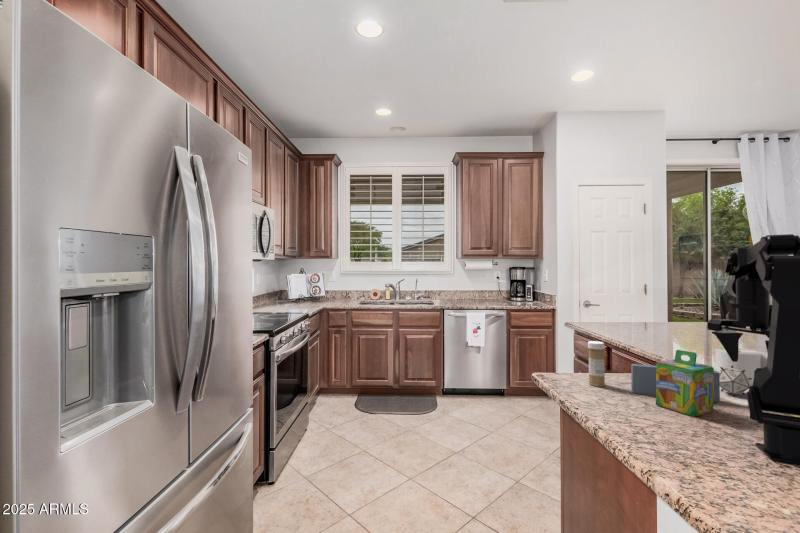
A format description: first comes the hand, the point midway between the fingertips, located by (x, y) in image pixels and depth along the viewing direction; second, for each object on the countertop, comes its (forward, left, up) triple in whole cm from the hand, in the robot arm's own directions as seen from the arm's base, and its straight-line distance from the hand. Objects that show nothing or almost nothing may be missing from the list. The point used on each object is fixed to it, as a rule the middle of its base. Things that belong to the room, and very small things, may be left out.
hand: (754, 366), depth 86 cm
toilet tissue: (+37, -10, -13) cm, 40 cm away
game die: (+22, -3, -13) cm, 26 cm away
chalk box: (+4, +13, -13) cm, 19 cm away
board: (+13, +13, -13) cm, 23 cm away
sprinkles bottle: (+17, +32, -13) cm, 38 cm away
